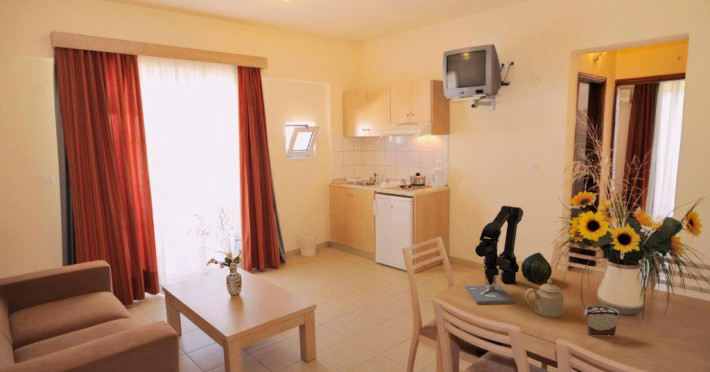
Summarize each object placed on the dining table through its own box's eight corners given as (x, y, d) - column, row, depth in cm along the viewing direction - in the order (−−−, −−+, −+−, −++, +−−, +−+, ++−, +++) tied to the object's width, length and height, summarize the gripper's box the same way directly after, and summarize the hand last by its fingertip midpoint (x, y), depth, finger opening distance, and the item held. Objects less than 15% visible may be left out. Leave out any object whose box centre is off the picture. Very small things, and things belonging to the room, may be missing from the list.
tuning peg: (487, 286, 206) (487, 273, 205) (497, 289, 203) (497, 275, 202) (476, 293, 198) (476, 279, 197) (486, 296, 194) (486, 281, 193)
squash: (521, 274, 211) (542, 252, 210) (511, 266, 226) (530, 246, 225) (542, 292, 212) (563, 270, 210) (531, 283, 227) (550, 262, 225)
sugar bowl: (545, 322, 171) (547, 287, 169) (523, 312, 181) (524, 279, 179) (568, 313, 178) (570, 280, 176) (545, 304, 188) (546, 272, 186)
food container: (610, 328, 164) (612, 304, 163) (619, 336, 158) (620, 311, 157) (577, 328, 165) (579, 304, 164) (584, 335, 159) (586, 310, 158)
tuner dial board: (499, 287, 209) (499, 284, 209) (514, 303, 190) (514, 299, 190) (465, 288, 209) (465, 285, 209) (476, 304, 190) (476, 300, 190)
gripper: (510, 258, 190) (509, 291, 192) (507, 247, 207) (506, 277, 209) (485, 257, 192) (484, 289, 194) (483, 246, 210) (483, 276, 212)
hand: (490, 283), depth 203 cm, fingers closed on tuning peg, 3 cm apart
